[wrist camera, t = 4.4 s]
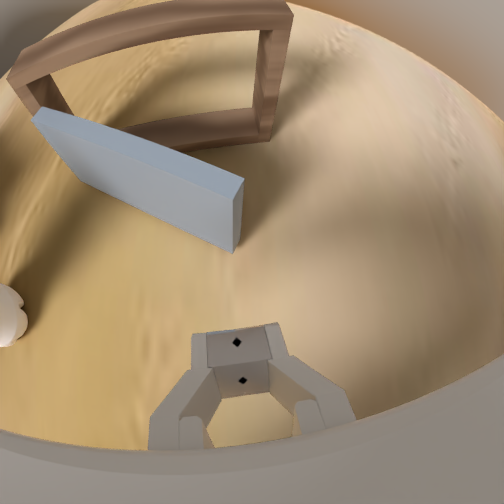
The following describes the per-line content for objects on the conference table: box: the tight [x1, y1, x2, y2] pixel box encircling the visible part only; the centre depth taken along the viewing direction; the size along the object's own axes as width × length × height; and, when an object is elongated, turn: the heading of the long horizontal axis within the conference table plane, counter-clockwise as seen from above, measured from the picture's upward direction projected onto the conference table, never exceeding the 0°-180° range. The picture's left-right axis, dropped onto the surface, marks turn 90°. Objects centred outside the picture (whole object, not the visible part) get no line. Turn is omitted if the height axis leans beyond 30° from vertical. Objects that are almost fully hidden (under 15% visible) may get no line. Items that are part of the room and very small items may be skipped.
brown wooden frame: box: [6, 0, 294, 153], centre depth 25 cm, size 4×24×18 cm, turn 100°
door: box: [31, 107, 245, 254], centre depth 24 cm, size 2×20×12 cm, turn 65°
